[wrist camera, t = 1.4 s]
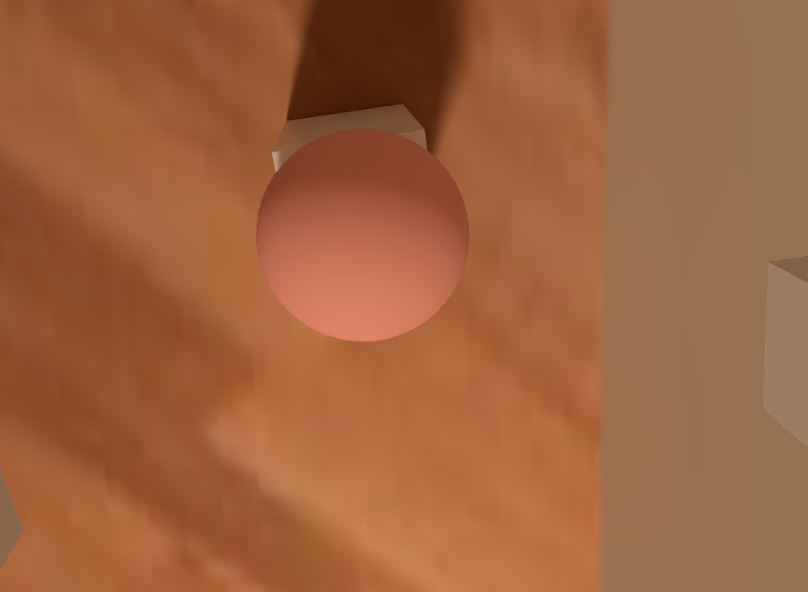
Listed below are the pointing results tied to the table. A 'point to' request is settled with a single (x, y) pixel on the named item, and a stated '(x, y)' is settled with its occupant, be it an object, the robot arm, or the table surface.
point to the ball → (362, 234)
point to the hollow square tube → (374, 118)
